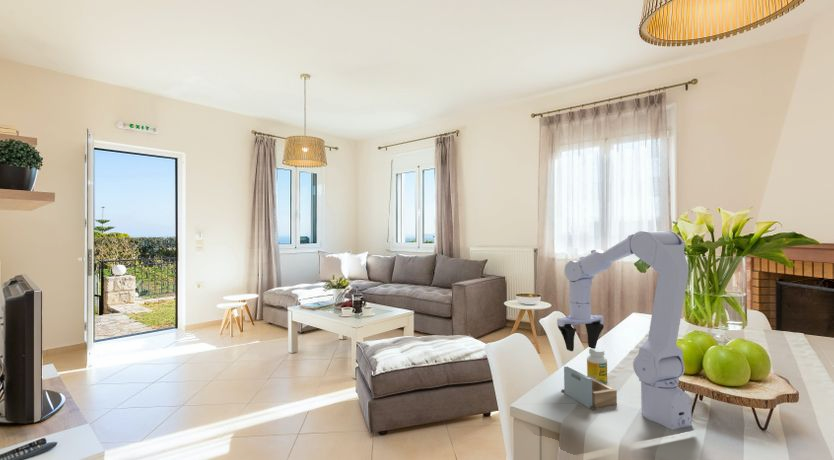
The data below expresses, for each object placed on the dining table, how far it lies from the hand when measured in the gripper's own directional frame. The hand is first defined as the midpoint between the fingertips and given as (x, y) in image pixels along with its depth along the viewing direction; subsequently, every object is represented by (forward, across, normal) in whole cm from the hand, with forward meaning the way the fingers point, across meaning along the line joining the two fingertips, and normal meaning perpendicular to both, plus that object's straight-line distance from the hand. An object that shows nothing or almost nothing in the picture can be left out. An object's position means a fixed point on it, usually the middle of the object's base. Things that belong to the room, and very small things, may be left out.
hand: (581, 349), depth 112 cm
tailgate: (+9, +10, +11) cm, 17 cm away
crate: (+10, +6, +11) cm, 16 cm away
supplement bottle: (+10, -5, +1) cm, 11 cm away
